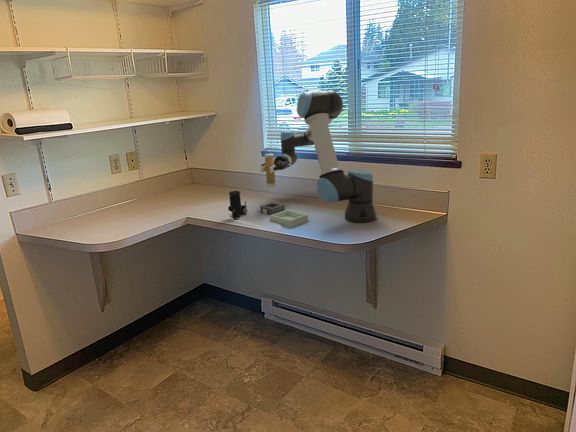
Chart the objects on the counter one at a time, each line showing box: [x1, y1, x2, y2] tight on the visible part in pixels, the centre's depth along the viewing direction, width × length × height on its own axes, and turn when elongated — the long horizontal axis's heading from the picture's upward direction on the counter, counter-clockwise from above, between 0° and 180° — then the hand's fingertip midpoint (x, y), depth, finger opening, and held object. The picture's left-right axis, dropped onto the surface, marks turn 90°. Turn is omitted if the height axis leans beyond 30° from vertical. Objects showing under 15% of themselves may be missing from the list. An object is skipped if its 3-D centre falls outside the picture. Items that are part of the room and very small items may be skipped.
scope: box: [228, 190, 248, 221], centre depth 223 cm, size 8×14×10 cm
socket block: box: [256, 201, 287, 216], centre depth 231 cm, size 12×12×4 cm
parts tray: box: [269, 209, 309, 229], centre depth 214 cm, size 14×12×4 cm
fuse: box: [264, 153, 276, 188], centre depth 225 cm, size 5×5×16 cm
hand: (265, 170), depth 220 cm, fingers closed on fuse, 4 cm apart
